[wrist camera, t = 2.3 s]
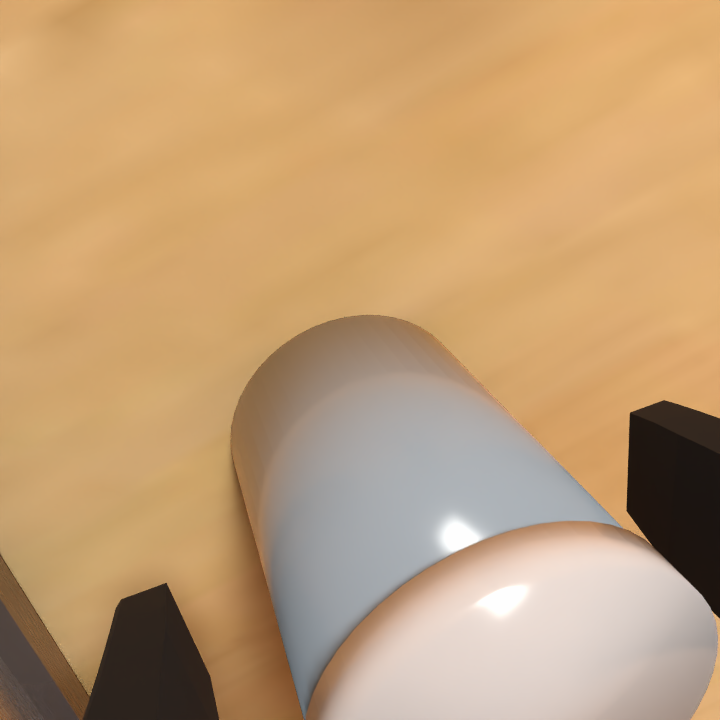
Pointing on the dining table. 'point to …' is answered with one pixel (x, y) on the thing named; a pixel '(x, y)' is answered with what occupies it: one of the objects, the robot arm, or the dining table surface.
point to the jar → (447, 548)
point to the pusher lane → (32, 663)
